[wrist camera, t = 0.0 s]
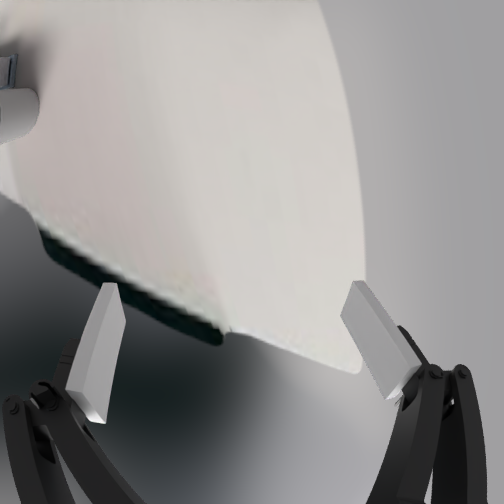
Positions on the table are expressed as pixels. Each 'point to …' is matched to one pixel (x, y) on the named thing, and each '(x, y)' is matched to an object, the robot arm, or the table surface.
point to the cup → (17, 113)
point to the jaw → (4, 71)
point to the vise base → (11, 72)
